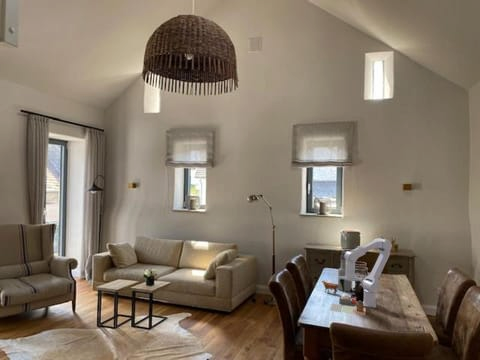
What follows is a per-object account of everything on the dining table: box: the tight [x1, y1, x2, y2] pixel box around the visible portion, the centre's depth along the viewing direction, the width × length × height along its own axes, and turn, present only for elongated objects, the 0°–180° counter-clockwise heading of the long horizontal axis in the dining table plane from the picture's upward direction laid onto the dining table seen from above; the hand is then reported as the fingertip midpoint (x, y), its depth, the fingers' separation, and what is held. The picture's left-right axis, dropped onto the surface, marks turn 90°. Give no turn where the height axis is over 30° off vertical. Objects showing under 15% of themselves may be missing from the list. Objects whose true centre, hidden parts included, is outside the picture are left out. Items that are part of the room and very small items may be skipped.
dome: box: [341, 293, 350, 300], centre depth 238 cm, size 5×5×5 cm
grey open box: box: [338, 295, 358, 307], centre depth 238 cm, size 7×11×4 cm, turn 70°
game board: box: [329, 303, 367, 316], centre depth 226 cm, size 15×21×1 cm
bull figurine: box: [321, 279, 339, 295], centre depth 261 cm, size 4×13×8 cm, turn 45°
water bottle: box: [337, 250, 353, 292], centre depth 269 cm, size 10×10×28 cm
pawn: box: [356, 300, 365, 312], centre depth 224 cm, size 4×4×6 cm
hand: (349, 292), depth 231 cm, fingers open, 7 cm apart
